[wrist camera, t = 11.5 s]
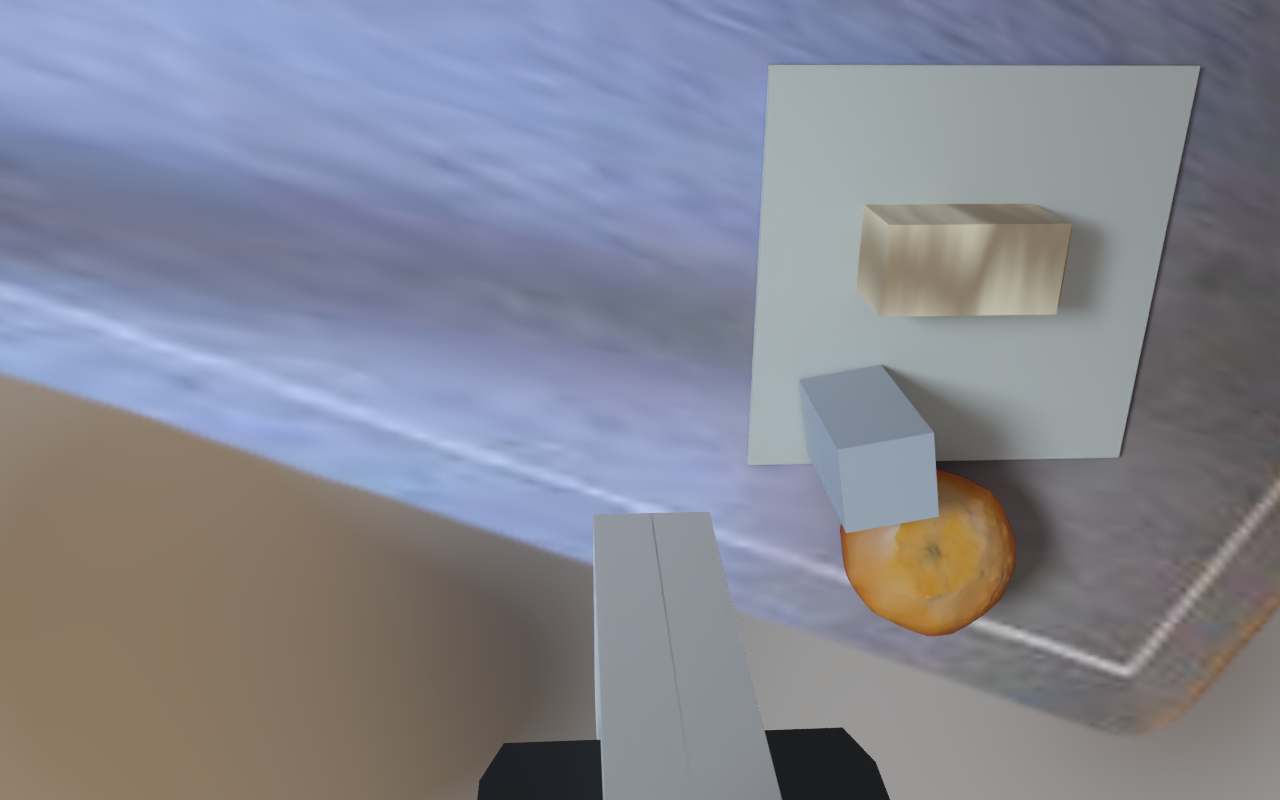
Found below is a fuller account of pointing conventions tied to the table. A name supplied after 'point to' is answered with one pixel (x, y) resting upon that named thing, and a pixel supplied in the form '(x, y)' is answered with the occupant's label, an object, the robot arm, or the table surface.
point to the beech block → (962, 259)
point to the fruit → (935, 561)
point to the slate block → (869, 449)
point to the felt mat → (965, 174)
